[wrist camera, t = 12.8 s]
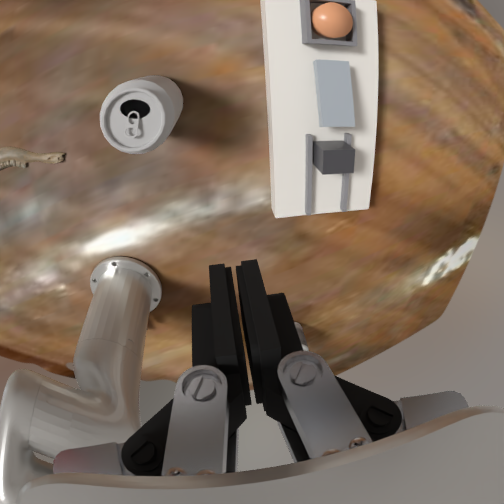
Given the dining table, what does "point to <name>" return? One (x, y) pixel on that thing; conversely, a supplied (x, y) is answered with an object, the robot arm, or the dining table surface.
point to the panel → (306, 108)
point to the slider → (333, 157)
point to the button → (331, 20)
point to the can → (141, 113)
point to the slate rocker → (334, 93)
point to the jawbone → (26, 157)
